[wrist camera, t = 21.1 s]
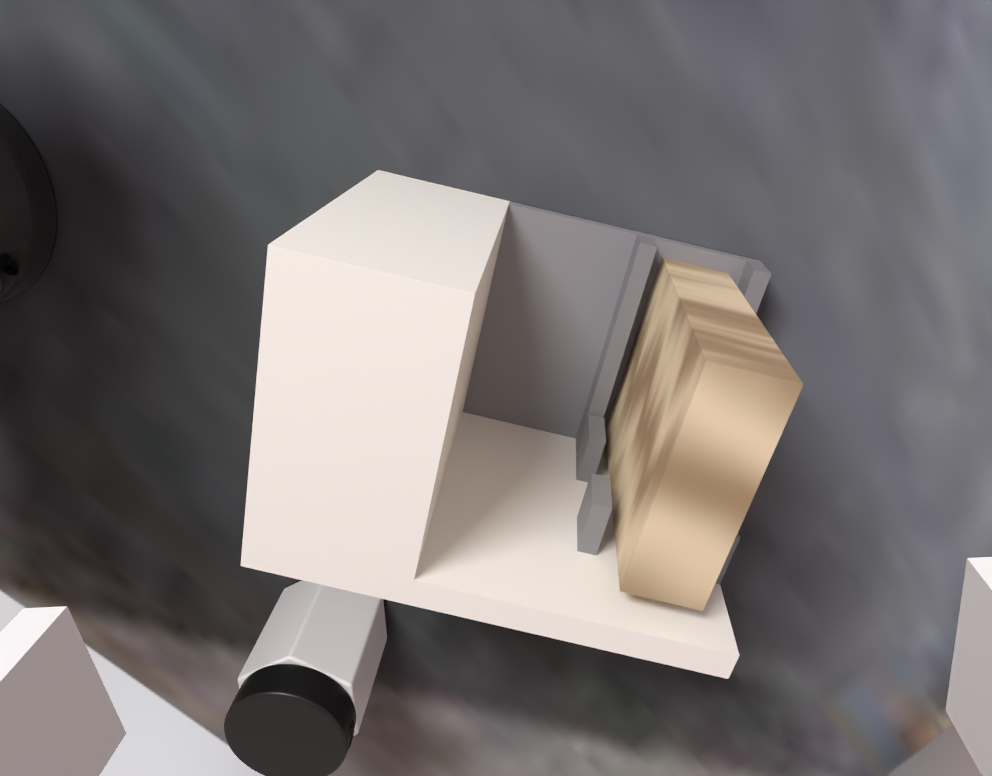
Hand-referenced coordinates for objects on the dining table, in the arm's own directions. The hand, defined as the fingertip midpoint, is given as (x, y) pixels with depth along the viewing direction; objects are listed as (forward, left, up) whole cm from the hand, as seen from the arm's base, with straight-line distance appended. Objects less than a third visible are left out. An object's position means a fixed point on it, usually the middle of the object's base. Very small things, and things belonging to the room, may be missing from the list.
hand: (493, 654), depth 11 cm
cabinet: (+9, -2, -37) cm, 38 cm away
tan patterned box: (+11, +6, -36) cm, 38 cm away
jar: (+30, -20, -37) cm, 52 cm away
